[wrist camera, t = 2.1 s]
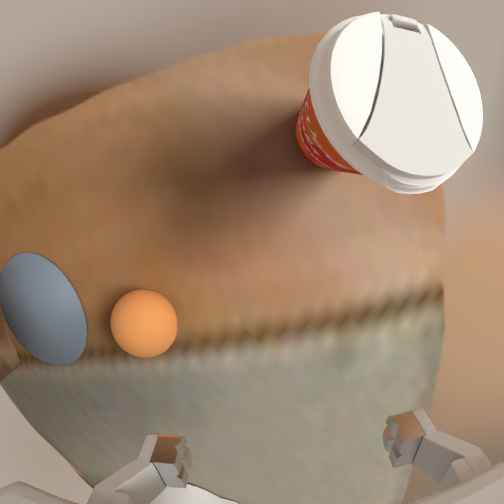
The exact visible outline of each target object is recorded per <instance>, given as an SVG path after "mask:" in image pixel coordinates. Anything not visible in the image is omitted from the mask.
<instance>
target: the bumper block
mask: <svg viewBox="0 0 504 504" xmlns="http://www.w3.org/2000/svg"><path fill="white" fill-rule="evenodd" d="M20 363H21V362H20V360H19V357H18V355H17V352H16V350H15V347H14V345H13V342H12V339H11V337H10V334H9V331H8V328H7V325H6V323H5V320H4V317H3V313H2V310H1V307H0V382H1V381H2V380H3V379H4V378H5V377H6V376H7V375H8V374H9V373H10V372H11V371H13V370H14V369H15V368H16V367H17V366H18V365H19V364H20Z"/></svg>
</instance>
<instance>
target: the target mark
mask: <svg viewBox="0 0 504 504" xmlns="http://www.w3.org/2000/svg"><path fill="white" fill-rule="evenodd" d="M0 303H1V307H2V311H3V314H4V317H5V319H6V321H7V324H8V326H9V327H10V329H11V331H12V333H13V334H14V336H15V337H16V338H17V340H18V341H19V342H20V343H21V345H22V346H23V347H24V348H25V349H26V350H27V351H29V352H30V353H31V354H32V355H34V356H35V357H36V358H38V359H40V360H42V361H44V362H46V363H49V364H52V365H58V366H63V365H68V364H71V363H73V362H75V361H76V360H77V359H78V358H79V357H80V356H81V355H82V353H83V351H84V349H85V347H86V343H87V336H88V328H87V320H86V316H85V312H84V309H83V306H82V303H81V301H80V299H79V296H78V294H77V292H76V291H75V289H74V287H73V286H72V284H71V282H70V281H69V280H68V278H67V277H66V276H65V274H64V273H63V272H62V271H61V270H60V269H59V268H58V267H57V266H56V265H55V264H53V263H52V262H51V261H49V260H48V259H46V258H45V257H43V256H41V255H38V254H35V253H29V252H28V253H20V254H17V255H15V256H13V257H12V258H11V259H10V260H9V261H8V262H7V263H6V264H5V266H4V268H3V270H2V273H1V277H0Z"/></svg>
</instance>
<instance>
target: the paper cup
mask: <svg viewBox="0 0 504 504" xmlns="http://www.w3.org/2000/svg"><path fill="white" fill-rule="evenodd" d="M482 120H483V112H482V101H481V96H480V91H479V88H478V85H477V82H476V79H475V77H474V75H473V73H472V71H471V69H470V67H469V65H468V64H467V62H466V60H465V58H464V57H463V56H462V54H461V53H460V52H459V50H458V49H457V48H456V47H455V46H454V45H453V43H452V42H451V41H450V40H449V39H448V38H447V37H445V36H444V35H443V34H442V33H440V32H439V31H438V30H437V29H435V28H434V27H432V26H431V25H429V24H420V23H417V21H416V20H414V19H411V18H407V17H403V16H399V15H394V14H390V15H382V14H380V12H374V13H368V14H365V15H362V16H357V17H352V18H350V19H347V20H345V21H342V22H341V23H339V24H337V25H336V26H334V27H333V28H332V29H331V30H330V31H329V32H328V33H327V34H326V35H325V36H324V37H323V38H322V40H321V41H320V43H319V44H318V46H317V47H316V50H315V52H314V55H313V57H312V61H311V66H310V71H309V89H308V92H307V94H306V97H305V100H304V102H303V105H302V108H301V110H300V113H299V116H298V119H297V123H296V140H297V143H298V146H299V148H300V150H301V151H302V153H303V154H304V155H305V157H306V158H307V159H309V160H310V161H311V162H312V163H314V164H316V165H318V166H320V167H323V168H326V169H331V170H336V171H342V172H348V173H354V174H360V175H364V176H366V177H367V178H369V179H371V180H373V181H375V182H377V183H379V184H381V185H383V186H385V187H386V188H388V189H390V190H392V191H393V192H397V193H405V194H416V193H424V192H428V191H432V190H433V189H435V188H436V187H437V186H438V185H440V184H441V183H442V182H444V181H445V180H446V179H448V178H449V177H450V176H452V175H453V173H455V171H456V170H457V169H458V168H459V167H460V166H461V164H462V163H463V162H464V161H465V160H466V159H467V158H468V157H469V156H470V155H472V154H473V152H474V150H475V149H476V147H477V144H478V141H479V139H480V135H481V129H482Z"/></svg>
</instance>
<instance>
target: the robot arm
mask: <svg viewBox="0 0 504 504" xmlns="http://www.w3.org/2000/svg"><path fill="white" fill-rule="evenodd" d="M386 424H387V427H386V428H385V430H384V433H383V443H384V446H385V449H386V450H387V451H389V452H390V455H389V459H390V461H391V463H392V466H393V468H396V467H400V466H404V465H407V464H411V463H412V465H414V466H415V467H417V468H418V469H420V470H421V471H422V472H424V473H425V474H427V475H428V476H430V477H431V478H433V479H434V480H436V481H437V482H439V483H440V484H439V486H438V488H437V489H436V491H435V492H434V494H432V495H429V496H427V497H424V498H421V499H419V500H416V501H413V502H410V503H407V504H504V460H503V461H501V462H500V463H498V464H496V465H494V466H492V465H491V463H490V462H489V460H488V459H487V457H486V456H485V455H484V453H483V451H482V450H481V448H478V447H476V446H474V445H471V444H469V443H466V442H464V441H462V440H459V439H457V438H455V437H453V436H451V435H448V434H446V433H444V432H442V431H438V432H437V430H436V429H435V427H434V426H433V424H432V422H431V421H430V419H429V418H428V416H427V414H426V413H425V411H424V410H423V409H422V408H418V409H415V410H411V411H407V412H403V413H400V414H396V415H392V416H389V417H388V418H387V421H386ZM186 442H187V441H186V439H185V437H184V436H175V435H164V434H153V433H149V434H148V435H147V436H146V438H145V441H144V443H143V446H142V448H141V451H140V454H139V456H138V459H137V460H133V461H132V462H130V463H129V464H127V465H126V466H124V467H123V468H121V469H120V470H118V471H117V472H115V473H114V474H112V475H111V476H109V477H108V478H106V479H105V480H103V481H102V482H100V483H99V484H97V485H95V487H94V489H93V492H92V494H91V496H90V498H89V501H88V503H87V504H238V503H237V502H234V501H230V500H227V499H223V498H220V497H217V496H215V495H214V494H212V493H210V492H208V491H206V490H203V489H201V488H198V487H196V486H193V485H189V484H187V481H188V474H187V472H186V471H188V470H189V469H190V467H191V452H190V449H189V448H188V447H187V446H186ZM0 504H77V503H74V502H71V501H68V500H65V499H63V498H60V497H57V496H55V495H52V494H50V493H47V492H44V491H42V490H40V489H38V488H35V487H33V486H31V485H29V484H26V483H23V482H15V483H12V484H9V485H7V486H5V487H2V488H0Z"/></svg>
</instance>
